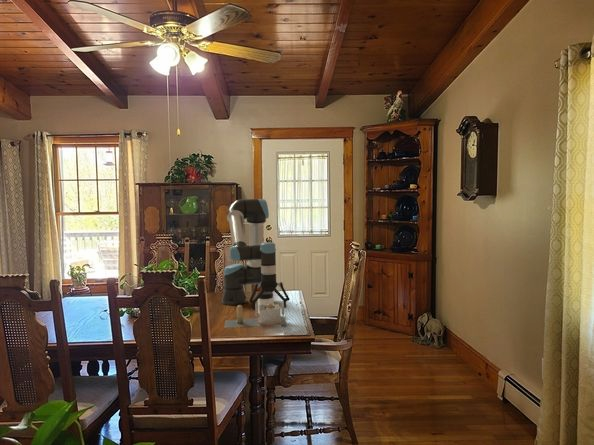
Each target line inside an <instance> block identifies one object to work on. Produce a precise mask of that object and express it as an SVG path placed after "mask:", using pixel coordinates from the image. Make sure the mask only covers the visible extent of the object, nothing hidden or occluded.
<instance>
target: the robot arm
mask: <svg viewBox="0 0 594 445" xmlns="http://www.w3.org/2000/svg"><path fill="white" fill-rule="evenodd" d="M269 216H270V213H269V207H268V203H267V201H266V199H265V198H251V199H250V198H247V199H244V198H241V199H236V200H235V201H233V202H232V203H231V204H230V205H229V206H228V208H227V211H226V220H227V221H228V223H229V230H230V238H231V246H230V247H229V250H228V251H229V252H228V253H229V259H230V261H232V262H239V261H241V262H242V261H247V262H246V265H243V263H233V264H229V265H227V266H225V267H224V268H223V277H224V278H223V280H224V282H223V283H224V292H223V295H222V298H221V303H222V304H223V305H226V306H235V305H237V306H238V305H242V304H245V303H247V302H249V303H251V304H252V310H254V312H255V317H256V318H258V303H257V300H258V299H259V298H260V296H261V295H262V294H263V293H264V291H265V292H274V293H276V295H277V296H278V297H279V298H280V299H281V311H282V312H281V314H282V316H285V309H286V308H287V302H288V301H290V300H291V299H290V297H289V295H288V293H287V291H286V290H285V288H284V285H283V284H284V283H283V282H282V281H280V282H277V262H276V261H277V260H276V259H277V258H276V256H277V255H276V253H277V252H276V251H277V249H276V243H274V242H264V224H265V223H267V219H269ZM244 220H246V223H248V244H247V239H246V238H247V237H246V233H245V227H244ZM245 285H254V289H253V291H252V293H251V296H250V297H249V299H248V298H247V295H246V293H245V288H244V286H245ZM260 287H261V289H260V291H259V292H260V293H259V292H258V289H259V288H260ZM277 287H279V288H280V289H281V291H282V293H283V294H284V296H283V295H282V294H281V292H279V290H278V289H277ZM257 292H258V293H259V294H258V293H257ZM256 293H257V294H256ZM255 295H256V297H255ZM247 300H248V301H247Z"/></svg>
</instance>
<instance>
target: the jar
mask: <svg viewBox="0 0 594 445" xmlns="http://www.w3.org/2000/svg"><path fill="white" fill-rule="evenodd" d="M273 292H274V291H273ZM273 292H265V291H264V293H263V294H262V295H261V296H260V298H259V299H258V300H257V301H256V302H257V314H259V315H260V308H259V305H267V304H272V305H275V303H274V302H275V301H274V299H275V298H274V293H273ZM259 293H260V291H259V292H257V295H258V294H259Z"/></svg>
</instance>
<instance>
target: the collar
mask: <svg viewBox="0 0 594 445" xmlns="http://www.w3.org/2000/svg"><path fill="white" fill-rule="evenodd" d="M272 306H273V308H267V305H259V308H260V314H259V318H260V324H272V323H281V318H280V317H281V307H280V304H279V303H276V304H275V303H274V305H272Z"/></svg>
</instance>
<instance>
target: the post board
mask: <svg viewBox="0 0 594 445" xmlns="http://www.w3.org/2000/svg"><path fill="white" fill-rule="evenodd" d="M243 307H244V306H243V305H242V304H238V305H237V306H236V319H226V320H224V321H225V322H224V326H223V328H224V329H227V328H244V327H245V328H247V327H261V326H262V327H264V326H277V325H278V326H279V325H280V326H281V327H287V324H286V320H285V317H284V316H280V318H281V323H272V324H260V317H256V318H255V317H254V318H244V312H243V311H244V310H243ZM267 308H273V306H272V304H267Z"/></svg>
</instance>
